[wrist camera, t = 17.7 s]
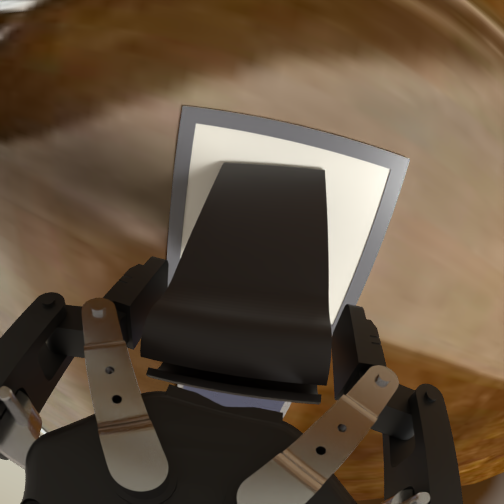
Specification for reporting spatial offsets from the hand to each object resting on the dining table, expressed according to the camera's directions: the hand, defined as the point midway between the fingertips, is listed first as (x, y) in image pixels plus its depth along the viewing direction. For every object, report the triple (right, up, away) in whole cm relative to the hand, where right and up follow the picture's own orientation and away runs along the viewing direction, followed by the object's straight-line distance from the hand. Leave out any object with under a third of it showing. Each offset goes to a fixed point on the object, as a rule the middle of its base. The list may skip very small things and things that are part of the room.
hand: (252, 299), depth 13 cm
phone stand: (+1, +3, +7) cm, 7 cm away
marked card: (+1, +3, +7) cm, 8 cm away
